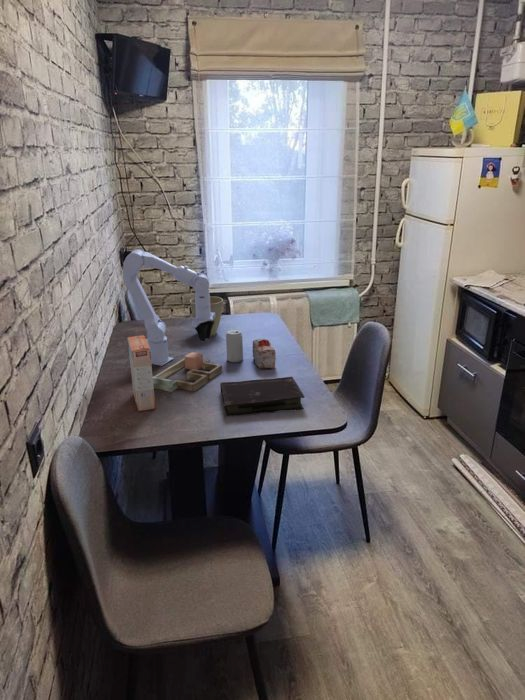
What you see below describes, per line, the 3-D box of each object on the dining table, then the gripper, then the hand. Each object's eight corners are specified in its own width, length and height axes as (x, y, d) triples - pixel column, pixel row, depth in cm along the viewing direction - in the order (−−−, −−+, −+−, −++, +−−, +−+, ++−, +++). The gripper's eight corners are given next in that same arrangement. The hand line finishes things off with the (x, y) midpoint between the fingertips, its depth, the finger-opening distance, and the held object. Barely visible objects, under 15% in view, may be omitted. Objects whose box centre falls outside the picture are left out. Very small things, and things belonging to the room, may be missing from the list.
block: (185, 368, 187) (184, 356, 185) (192, 364, 191) (191, 352, 190) (196, 370, 185) (195, 358, 183) (203, 366, 189) (202, 354, 188)
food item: (278, 369, 185) (278, 345, 181) (257, 371, 183) (257, 347, 180) (268, 356, 197) (268, 333, 194) (249, 358, 196) (248, 335, 192)
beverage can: (240, 363, 191) (239, 334, 186) (225, 362, 192) (223, 333, 188) (244, 357, 196) (243, 329, 192) (229, 356, 198) (228, 328, 193)
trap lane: (148, 387, 172) (147, 376, 170) (187, 362, 193) (187, 352, 191) (188, 395, 165) (187, 384, 163) (225, 369, 186) (224, 359, 184)
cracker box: (157, 409, 156) (150, 348, 149) (137, 412, 154) (130, 350, 147) (151, 391, 168) (145, 334, 161) (133, 394, 167) (126, 336, 159)
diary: (220, 394, 167) (220, 380, 166) (291, 388, 171) (291, 374, 169) (226, 419, 150) (225, 404, 148) (305, 411, 154) (305, 397, 152)
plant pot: (223, 338, 218) (221, 304, 213) (190, 339, 219) (187, 304, 213) (225, 328, 232) (224, 295, 227) (194, 328, 233) (192, 296, 227)
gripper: (201, 312, 180) (203, 346, 185) (221, 302, 192) (222, 335, 197) (185, 310, 183) (188, 344, 187) (206, 300, 195) (207, 333, 200)
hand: (204, 339), depth 192 cm, fingers open, 3 cm apart
